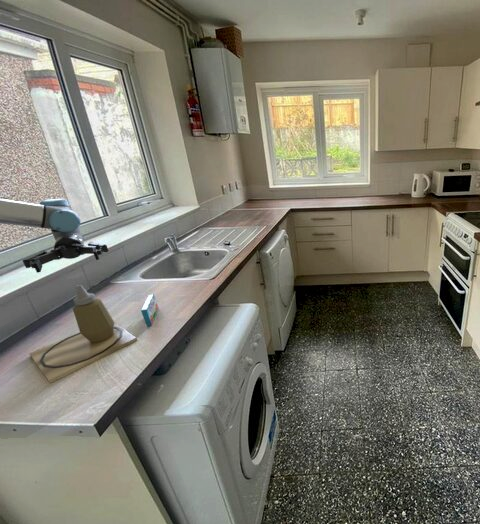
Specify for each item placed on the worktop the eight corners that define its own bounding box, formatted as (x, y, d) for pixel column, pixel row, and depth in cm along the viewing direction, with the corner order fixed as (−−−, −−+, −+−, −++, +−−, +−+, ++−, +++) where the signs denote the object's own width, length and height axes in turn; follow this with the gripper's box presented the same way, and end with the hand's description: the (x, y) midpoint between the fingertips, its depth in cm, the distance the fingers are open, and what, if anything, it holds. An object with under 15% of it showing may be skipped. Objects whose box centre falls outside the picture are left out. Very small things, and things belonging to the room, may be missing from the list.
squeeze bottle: (104, 345, 85) (79, 291, 78) (78, 345, 86) (51, 292, 79) (124, 328, 93) (103, 278, 86) (100, 329, 93) (77, 279, 86)
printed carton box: (154, 309, 105) (148, 294, 103) (158, 308, 106) (153, 293, 104) (146, 326, 95) (140, 310, 93) (152, 325, 96) (146, 309, 93)
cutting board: (30, 355, 84) (28, 352, 83) (111, 321, 99) (110, 318, 98) (50, 383, 73) (48, 379, 73) (137, 340, 88) (136, 337, 88)
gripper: (116, 247, 112) (121, 261, 97) (24, 265, 97) (14, 285, 82) (109, 229, 109) (113, 240, 94) (14, 244, 94) (1, 261, 79)
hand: (67, 261), depth 88 cm, fingers open, 13 cm apart
